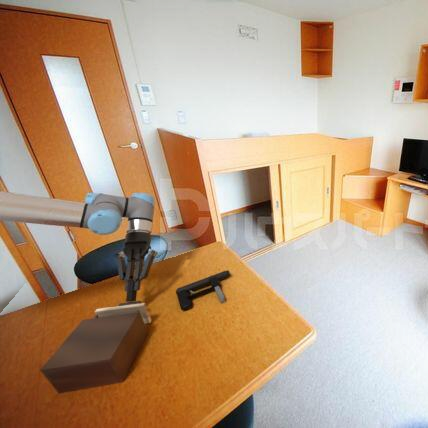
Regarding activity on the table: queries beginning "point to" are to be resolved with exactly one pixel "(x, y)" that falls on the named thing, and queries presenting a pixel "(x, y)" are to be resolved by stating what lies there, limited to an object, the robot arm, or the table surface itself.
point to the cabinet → (96, 353)
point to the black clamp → (215, 286)
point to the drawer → (125, 311)
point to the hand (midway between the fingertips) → (130, 301)
